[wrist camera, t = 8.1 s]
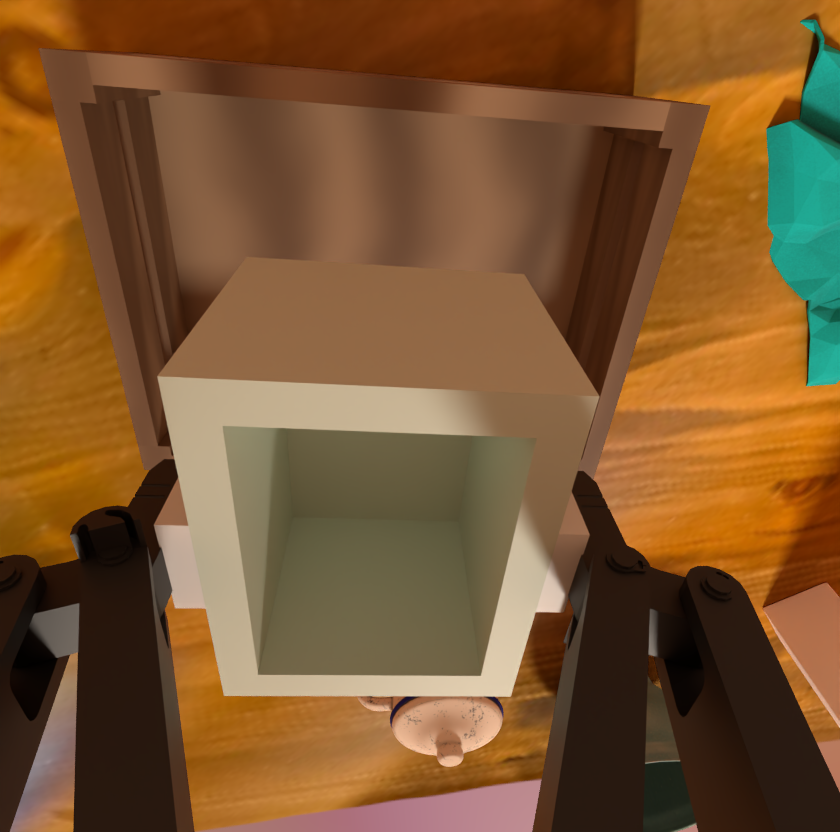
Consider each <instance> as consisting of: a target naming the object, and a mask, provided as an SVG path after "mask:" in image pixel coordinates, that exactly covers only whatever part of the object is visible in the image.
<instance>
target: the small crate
mask: <svg viewBox="0 0 840 832" xmlns="http://www.w3.org/2000/svg"><path fill="white" fill-rule="evenodd" d="M157 377H158V382H159V387H160V392H161V397H162V401H163V406H164V411H165V416H166V421H167V425H168V430H169V435H170V440H171V444H172V449H173V454H174V459H175V464H176V468H177V473H178V478H179V483H180V488H181V492H182V497H183V502H184V507H185V511H186V516H187V521H188V526H189V531H190V535H191V540H192V545H193V550H194V554H195V559H196V564H197V569H198V574H199V578H200V583H201V588H202V593H203V598H204V602H205V607H206V612H207V617H208V621H209V626H210V631H211V636H212V641H213V645H214V650H215V655H216V660H217V664H218V669H219V674H220V679H221V684H222V688H223V693H224V696H507V697H511V694H512V690H513V687H514V683H515V680H516V677H517V673H518V670H519V667H520V663H521V660H522V656H523V653H524V650H525V646H526V643H527V640H528V636H529V633H530V629H531V626H532V623H533V619H534V616H535V613H536V609H537V606H538V603H539V599H540V596H541V592H542V589H543V586H544V582H545V579H546V576H547V572H548V569H549V565H550V562H551V559H552V555H553V552H554V549H555V545H556V542H557V538H558V535H559V532H560V528H561V525H562V522H563V518H564V515H565V511H566V508H567V505H568V501H569V498H570V495H571V491H572V488H573V484H574V481H575V478H576V474H577V471H578V468H579V464H580V461H581V457H582V454H583V451H584V447H585V444H586V441H587V437H588V434H589V430H590V427H591V424H592V420H593V417H594V414H595V410H596V407H597V403H598V400H599V397H600V396H599V395H598V393H597V392H596V390H595V388H594V387H593V385H592V383H591V382H590V380H589V379H588V377H587V375H586V374H585V372H584V370H583V369H582V367H581V366H580V364H579V362H578V361H577V359H576V358H575V356H574V354H573V353H572V351H571V349H570V348H569V346H568V345H567V343H566V341H565V340H564V338H563V336H562V335H561V333H560V332H559V330H558V328H557V327H556V325H555V323H554V322H553V320H552V319H551V317H550V315H549V314H548V312H547V310H546V309H545V307H544V306H543V304H542V302H541V301H540V299H539V297H538V296H537V294H536V293H535V291H534V289H533V288H532V286H531V285H530V283H529V281H528V280H527V278H526V276H525V275H524V274H514V273H498V272H482V271H466V270H450V269H434V268H418V267H402V266H386V265H370V264H354V263H338V262H322V261H306V260H290V259H274V258H258V257H246V258H245V260H244V261H243V262H242V264H241V265H240V266H239V268H238V269H237V270H236V272H235V273H234V274H233V276H232V277H231V278H230V280H229V281H228V282H227V284H226V285H225V286H224V288H223V289H222V290H221V292H220V293H219V294H218V296H217V297H216V298H215V300H214V301H213V302H212V304H211V305H210V306H209V308H208V309H207V310H206V312H205V313H204V314H203V316H202V317H201V319H200V320H199V321H198V323H197V324H196V325H195V327H194V328H193V329H192V331H191V332H190V333H189V335H188V336H187V337H186V339H185V340H184V341H183V343H182V344H181V345H180V347H179V348H178V349H177V351H176V352H175V353H174V355H173V356H172V357H171V359H170V360H169V361H168V363H167V364H166V365H165V367H164V368H163V369H162V371H161V372H160V373H159V375H158V376H157Z"/></svg>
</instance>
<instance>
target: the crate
mask: <svg viewBox="0 0 840 832" xmlns="http://www.w3.org/2000/svg"><path fill="white" fill-rule="evenodd" d="M39 52H40V56H41V60H42V64H43V68H44V72H45V76H46V80H47V84H48V88H49V92H50V96H51V100H52V104H53V108H54V112H55V116H56V120H57V123H58V127H59V131H60V135H61V139H62V143H63V147H64V151H65V155H66V159H67V163H68V167H69V171H70V175H71V179H72V183H73V187H74V191H75V195H76V199H77V203H78V207H79V211H80V215H81V219H82V223H83V227H84V231H85V235H86V239H87V243H88V247H89V251H90V255H91V259H92V263H93V267H94V271H95V275H96V279H97V283H98V287H99V291H100V295H101V299H102V303H103V307H104V311H105V315H106V319H107V323H108V327H109V331H110V335H111V339H112V343H113V347H114V351H115V355H116V359H117V363H118V367H119V371H120V375H121V379H122V383H123V387H124V391H125V395H126V399H127V403H128V407H129V411H130V415H131V419H132V423H133V427H134V431H135V435H136V439H137V443H138V447H139V451H140V455H141V459H142V463H143V467H144V470H151V469H152V468H153V467H155V466H156V465H157V464H158V463H160V462H161V461H162V460H164V459H174V454H173V449H172V444H171V440H170V435H169V430H168V425H167V421H166V416H165V411H164V406H163V401H162V397H161V392H160V387H159V382H158V377H157V376H158V375H159V373H160V372H161V371H162V369H163V368H164V367H165V365H166V364H167V363H168V361H169V360H170V359H171V357H172V356H173V355H174V353H175V352H176V351H177V349H178V348H179V347H180V345H181V344H182V343H183V341H184V340H185V339H186V337H187V336H188V335H189V333H190V332H191V331H192V329H193V328H194V327H195V325H196V324H197V323H198V321H199V320H200V319H201V317H202V316H203V314H204V313H205V312H206V310H207V309H208V308H209V306H210V305H211V304H212V302H213V301H214V300H215V298H216V297H217V296H218V294H219V293H220V292H221V290H222V289H223V288H224V286H225V285H226V284H227V282H228V281H229V280H230V278H231V277H232V276H233V274H234V273H235V272H236V270H237V269H238V268H239V266H240V265H241V264H242V262H243V261H244V260H245V258H246V257H258V258H274V259H290V260H306V261H322V262H338V263H354V264H370V265H386V266H402V267H418V268H434V269H450V270H466V271H482V272H498V273H514V274H524V275H525V276H526V278H527V280H528V281H529V283H530V285H531V286H532V288H533V289H534V291H535V293H536V294H537V296H538V297H539V299H540V301H541V302H542V304H543V306H544V307H545V309H546V310H547V312H548V314H549V315H550V317H551V319H552V320H553V322H554V323H555V325H556V327H557V328H558V330H559V332H560V333H561V335H562V336H563V338H564V340H565V341H566V343H567V345H568V346H569V348H570V349H571V351H572V353H573V354H574V356H575V358H576V359H577V361H578V362H579V364H580V366H581V367H582V369H583V370H584V372H585V374H586V375H587V377H588V379H589V380H590V382H591V383H592V385H593V387H594V388H595V390H596V392H597V393H598V395H599V396H600V397H599V400H598V403H597V407H596V410H595V414H594V417H593V420H592V424H591V427H590V430H589V434H588V437H587V441H586V444H585V447H584V451H583V454H582V457H581V461H580V464H579V468H578V471H584V472H585V473H586V474H587V475H589V476H590V477H591V478H592V479H594V475H595V472H596V469H597V466H598V463H599V459H600V456H601V453H602V450H603V447H604V444H605V440H606V437H607V434H608V431H609V428H610V424H611V421H612V418H613V415H614V412H615V408H616V405H617V402H618V399H619V396H620V392H621V389H622V386H623V383H624V380H625V377H626V373H627V370H628V367H629V364H630V361H631V357H632V354H633V351H634V348H635V345H636V341H637V338H638V335H639V332H640V329H641V325H642V322H643V319H644V316H645V313H646V310H647V306H648V303H649V300H650V297H651V294H652V290H653V287H654V284H655V281H656V278H657V274H658V271H659V268H660V265H661V262H662V259H663V255H664V252H665V249H666V246H667V243H668V239H669V236H670V233H671V230H672V227H673V223H674V220H675V217H676V214H677V211H678V207H679V204H680V201H681V198H682V195H683V192H684V188H685V185H686V182H687V179H688V176H689V172H690V169H691V166H692V163H693V160H694V156H695V153H696V150H697V147H698V144H699V141H700V137H701V134H702V131H703V128H704V125H705V121H706V118H707V115H708V112H709V109H710V106H709V105H701V104H693V103H686V102H678V101H670V100H662V99H655V98H647V97H639V96H630V95H619V94H607V93H596V92H584V91H572V90H561V89H549V88H538V87H526V86H514V85H503V84H491V83H479V82H468V81H456V80H445V79H433V78H421V77H410V76H398V75H387V74H375V73H363V72H352V71H340V70H328V69H317V68H305V67H294V66H282V65H270V64H259V63H247V62H236V61H224V60H212V59H201V58H189V57H177V56H166V55H154V54H143V53H131V52H111V51H89V50H67V49H45V48H39Z"/></svg>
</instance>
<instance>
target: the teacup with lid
mask: <svg viewBox="0 0 840 832" xmlns="http://www.w3.org/2000/svg"><path fill="white" fill-rule="evenodd" d="M357 697H358V699H359V701H360V702H361V704H362V705H363V706H365V707H366V708H368V709H370V710H374V711H389V710H393V711H392V713H391V717H390V724H391V727H392V730H393V733H394V735H395V737H396V738H397V739H398V741H399V742H400V743H401V744H403V745H404V746H405V747H407V748H409V749H411V750H413V751H416V752H419V753H423V754H428V755H436V756H437V759H438V761H439V763H440V764H441V765H443V766H449V767H450V766H456V765H458V764H460V763H461V761H462V760H463V753H465V752H469V751H472V750H475V749H477V748H479V747H481V746H483V745H485V744H487V743H488V742H489V741H491V740H492V739H493V738H494V737H495V736H496V735H497V733H498V732H499V730H500V728H501V725H502V720H503V708H502V705H501V703H500V702H499V701H498V696H393V697H385V698H376V697H372V696H357Z"/></svg>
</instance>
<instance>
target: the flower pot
mask: <svg viewBox="0 0 840 832" xmlns="http://www.w3.org/2000/svg"><path fill="white" fill-rule="evenodd" d="M694 825H697V824H696V820H695V816H694V812H693V809H692V805H691V801H690V797H689V793H688V789H687V785H686V781H685V777H684V773H683V769H682V766H681V762H680V758H679V754H678V750H677V746H676V742H675V738H674V734H673V730H672V726H671V722H670V719H669V715H668V711H667V707H666V703H665V699H664V695H663V691H662V689H660V688H659V687H657V686H656V685H654V684H653V683H652V681H651V680H650V678H649V677H648V689H647V720H646V752H645V783H644V815H643V832H677V831H680V830H683V829H686V828H689V827H692V826H694Z"/></svg>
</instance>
